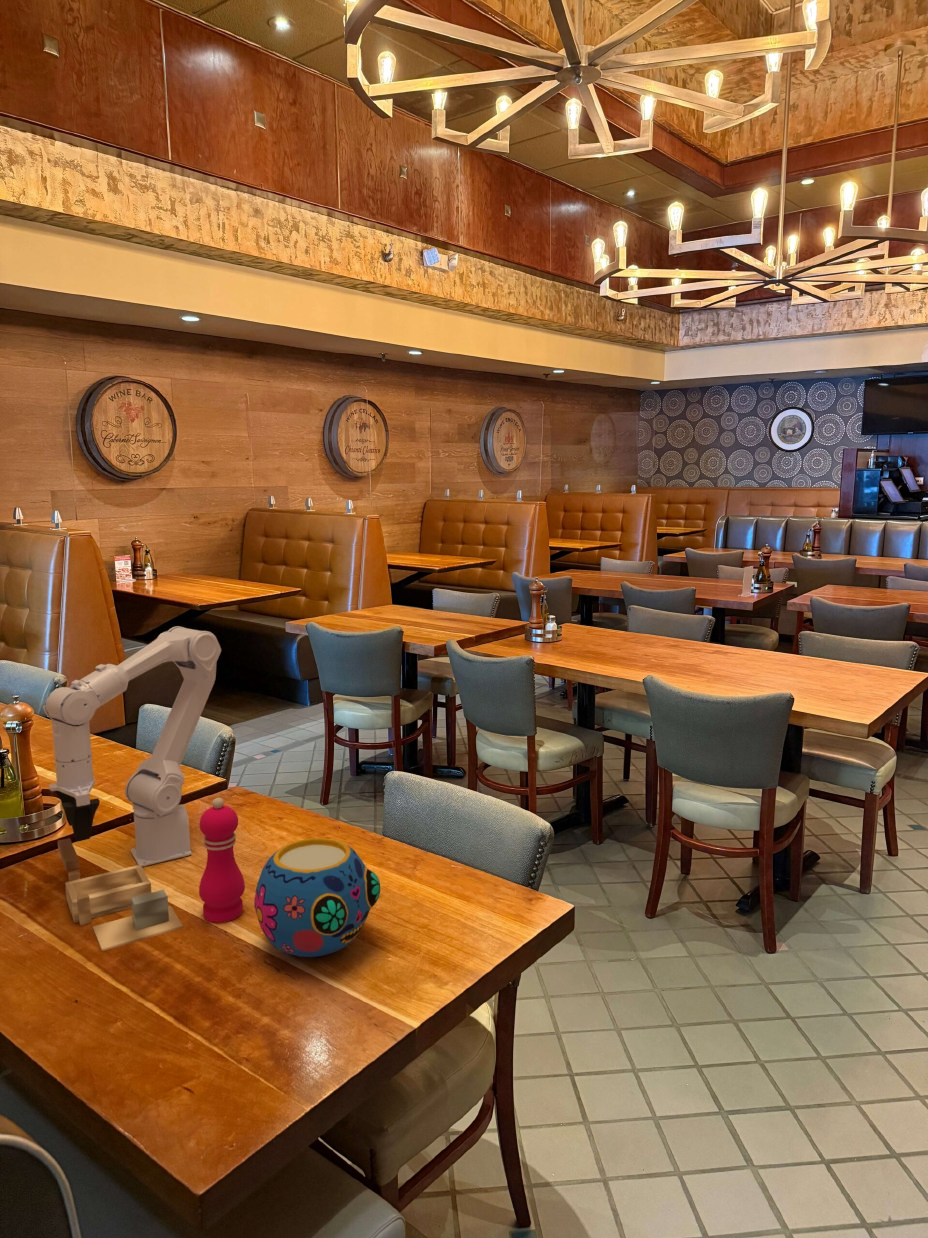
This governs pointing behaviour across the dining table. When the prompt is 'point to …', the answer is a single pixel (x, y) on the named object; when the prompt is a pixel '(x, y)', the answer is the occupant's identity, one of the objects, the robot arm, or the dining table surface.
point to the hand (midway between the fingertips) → (79, 831)
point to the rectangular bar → (68, 855)
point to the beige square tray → (104, 892)
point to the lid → (139, 922)
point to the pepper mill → (220, 865)
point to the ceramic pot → (314, 897)
